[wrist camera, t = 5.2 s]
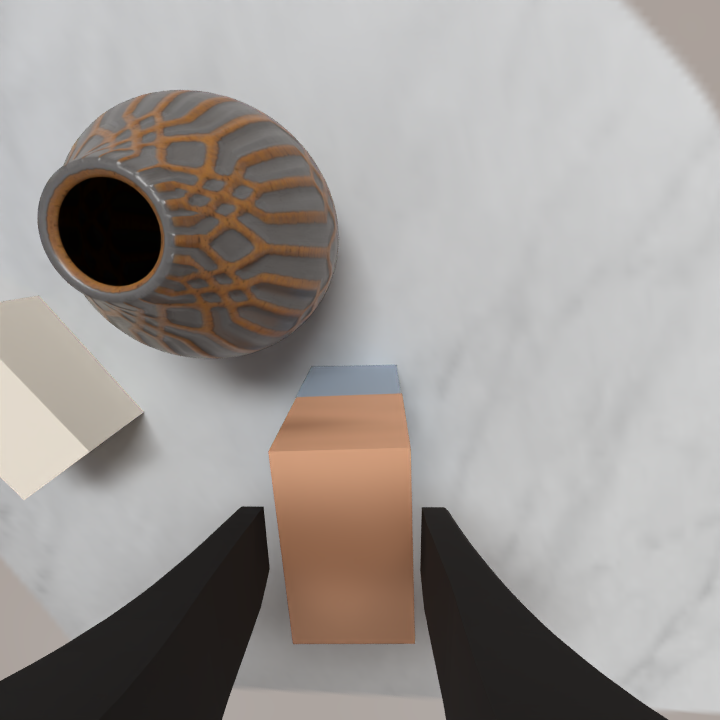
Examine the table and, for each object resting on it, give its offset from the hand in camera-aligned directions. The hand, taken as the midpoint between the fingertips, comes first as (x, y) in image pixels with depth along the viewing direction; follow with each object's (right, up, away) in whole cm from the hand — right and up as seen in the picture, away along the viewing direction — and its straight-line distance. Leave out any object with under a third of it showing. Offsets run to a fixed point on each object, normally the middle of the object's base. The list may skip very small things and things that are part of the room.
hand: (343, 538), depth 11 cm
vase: (-3, +9, +4) cm, 11 cm away
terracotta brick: (0, +1, +3) cm, 3 cm away
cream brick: (-12, +4, +6) cm, 14 cm away
